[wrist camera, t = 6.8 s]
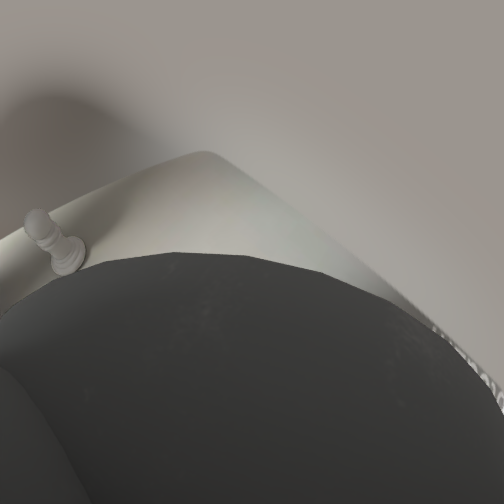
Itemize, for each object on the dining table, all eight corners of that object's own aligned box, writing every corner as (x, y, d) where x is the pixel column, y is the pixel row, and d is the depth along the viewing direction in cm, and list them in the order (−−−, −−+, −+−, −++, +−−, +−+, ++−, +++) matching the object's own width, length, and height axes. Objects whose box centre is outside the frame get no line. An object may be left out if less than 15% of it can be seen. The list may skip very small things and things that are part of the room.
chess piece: (71, 232, 34) (34, 190, 26) (94, 249, 32) (55, 204, 24) (47, 265, 32) (5, 227, 24) (69, 285, 30) (23, 247, 22)
